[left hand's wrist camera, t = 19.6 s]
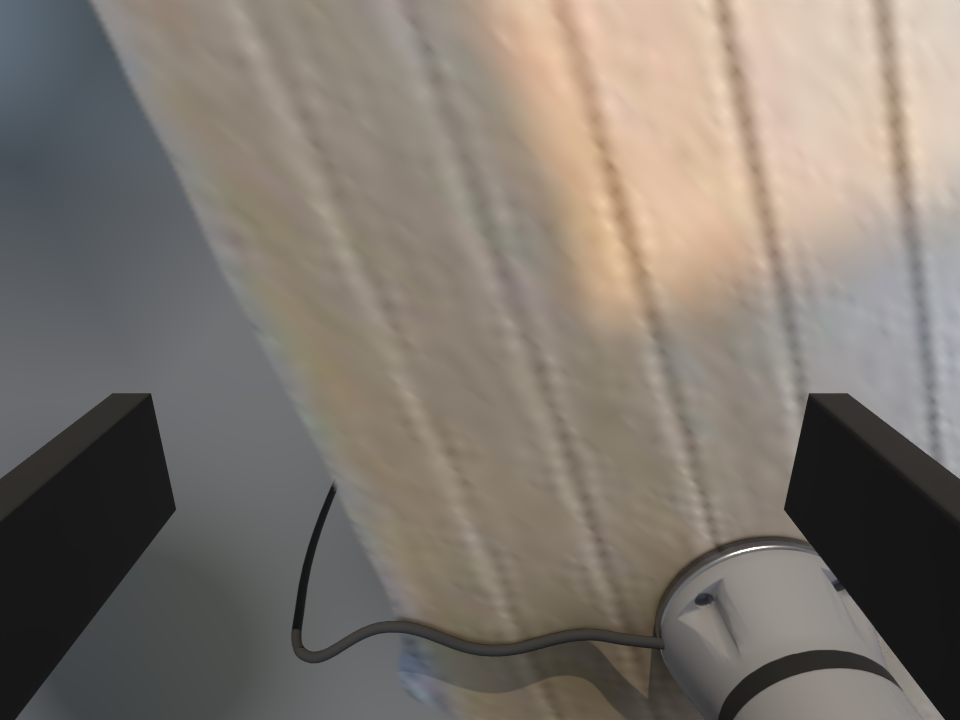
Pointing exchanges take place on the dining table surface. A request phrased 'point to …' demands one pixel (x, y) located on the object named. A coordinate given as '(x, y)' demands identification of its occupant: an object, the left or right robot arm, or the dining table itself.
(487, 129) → the dining table surface
